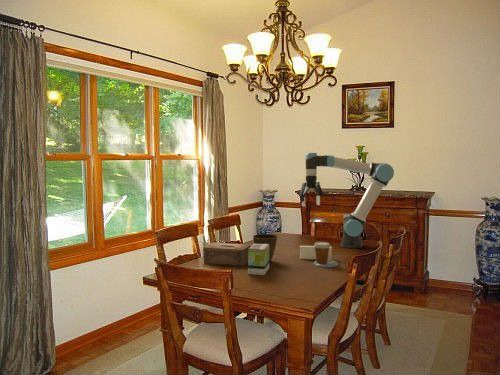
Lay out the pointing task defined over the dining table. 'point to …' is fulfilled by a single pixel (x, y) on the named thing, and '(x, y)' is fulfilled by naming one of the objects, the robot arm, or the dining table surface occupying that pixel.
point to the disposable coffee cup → (321, 252)
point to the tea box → (258, 259)
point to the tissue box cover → (226, 253)
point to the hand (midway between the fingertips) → (311, 205)
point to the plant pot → (266, 242)
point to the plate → (328, 265)
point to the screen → (311, 252)
